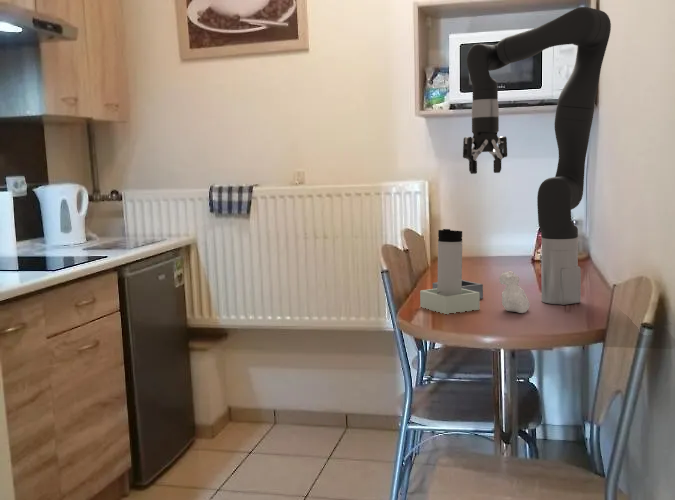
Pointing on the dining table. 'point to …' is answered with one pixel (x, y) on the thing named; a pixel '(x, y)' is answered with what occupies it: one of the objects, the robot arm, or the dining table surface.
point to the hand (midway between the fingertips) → (485, 173)
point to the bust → (513, 293)
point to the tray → (450, 301)
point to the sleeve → (468, 287)
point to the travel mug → (449, 262)
